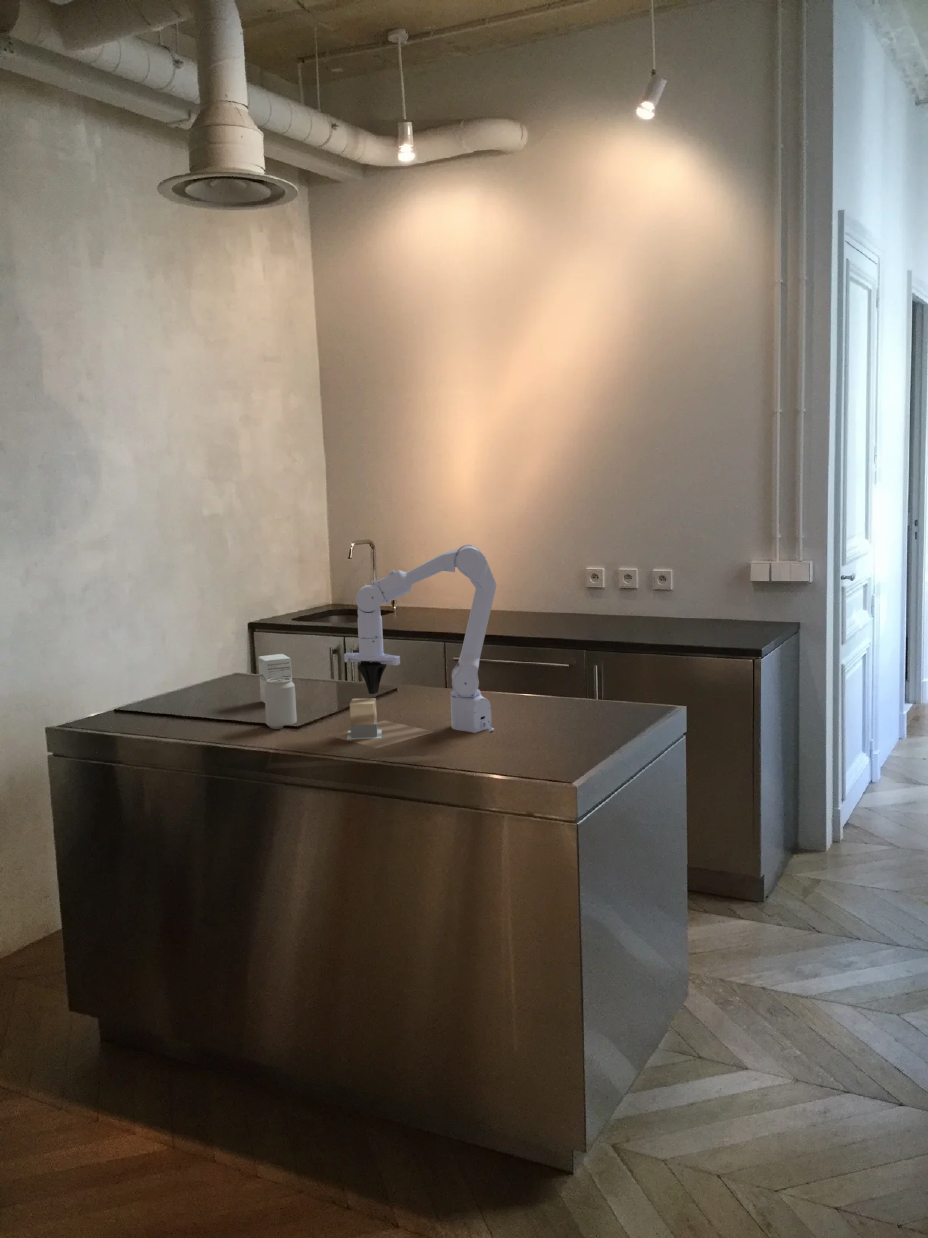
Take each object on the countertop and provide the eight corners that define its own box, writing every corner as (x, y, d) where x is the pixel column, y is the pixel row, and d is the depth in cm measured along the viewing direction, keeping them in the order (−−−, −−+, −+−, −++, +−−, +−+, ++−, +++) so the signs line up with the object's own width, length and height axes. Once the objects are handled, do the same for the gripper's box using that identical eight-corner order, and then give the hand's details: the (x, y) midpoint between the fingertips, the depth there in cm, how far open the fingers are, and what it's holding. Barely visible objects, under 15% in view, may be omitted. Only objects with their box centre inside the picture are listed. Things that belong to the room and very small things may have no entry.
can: (260, 728, 272) (257, 680, 270) (278, 721, 278) (276, 674, 276) (284, 731, 268) (282, 683, 266) (303, 723, 275) (300, 676, 273)
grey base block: (377, 737, 256) (376, 724, 255) (351, 738, 255) (350, 725, 255) (377, 730, 262) (376, 718, 261) (352, 731, 261) (351, 719, 261)
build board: (435, 735, 259) (435, 731, 259) (377, 752, 246) (377, 748, 246) (385, 724, 271) (384, 720, 271) (327, 739, 259) (327, 735, 259)
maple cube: (374, 724, 255) (373, 703, 254) (350, 725, 255) (349, 704, 254) (376, 718, 261) (375, 698, 260) (353, 719, 261) (352, 698, 260)
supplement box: (260, 701, 302) (257, 656, 300) (286, 698, 305) (283, 653, 303) (267, 706, 295) (264, 660, 293) (294, 703, 298) (291, 657, 296)
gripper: (405, 635, 259) (408, 691, 261) (354, 632, 266) (357, 687, 268) (389, 640, 252) (392, 698, 255) (337, 637, 259) (340, 693, 261)
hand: (373, 693), depth 261 cm, fingers closed
